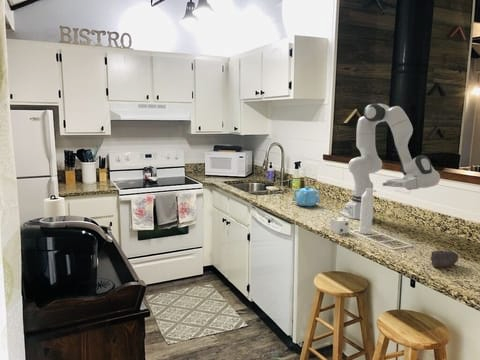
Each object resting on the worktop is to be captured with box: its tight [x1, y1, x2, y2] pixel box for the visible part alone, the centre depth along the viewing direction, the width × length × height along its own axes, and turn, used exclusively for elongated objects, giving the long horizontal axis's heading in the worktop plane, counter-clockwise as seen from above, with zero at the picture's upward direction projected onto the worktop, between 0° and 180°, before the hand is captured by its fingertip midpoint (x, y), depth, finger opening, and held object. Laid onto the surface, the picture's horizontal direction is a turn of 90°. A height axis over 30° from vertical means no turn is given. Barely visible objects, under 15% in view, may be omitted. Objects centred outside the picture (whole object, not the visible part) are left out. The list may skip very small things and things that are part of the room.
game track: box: [349, 229, 415, 251], centre depth 200 cm, size 31×14×1 cm, turn 25°
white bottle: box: [358, 188, 377, 235], centre depth 207 cm, size 9×6×25 cm
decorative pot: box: [292, 186, 321, 208], centre depth 273 cm, size 16×16×14 cm
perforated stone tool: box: [430, 250, 459, 268], centre depth 164 cm, size 15×5×7 cm, turn 108°
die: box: [330, 216, 350, 235], centre depth 211 cm, size 7×7×7 cm
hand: (387, 184), depth 209 cm, fingers open, 8 cm apart
